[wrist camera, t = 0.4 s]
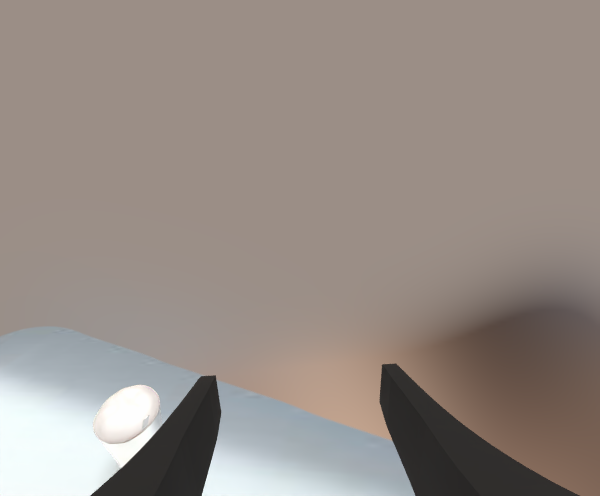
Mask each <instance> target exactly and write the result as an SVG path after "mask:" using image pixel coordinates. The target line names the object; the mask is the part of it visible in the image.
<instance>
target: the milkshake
mask: <svg viewBox="0 0 600 496" xmlns="http://www.w3.org/2000/svg"><path fill="white" fill-rule="evenodd" d="M161 426H162V417H161V408H160V399H159V396H158V394H157V393H156V392H155V391H154V390H153V389H152V388H150V387H148V386H145V385H135V386H130V387H126V388H123V389H121V390H120V391H118V392H117V393H115V394H114V395H112V396H111V397H110V398H108V399H107V400H106V401H105V403H104V404H103V405H102V407H101V408H100V410H99V411H98V413H97V414H96V416H95V418H94V421H93V430H94V433H95V435H96V436H97V437H98V439H99V440H100V441H101V443H102V444H103V445H104V447H105V448H106V449H107V450H108V452H109V453H110V454H111V455H112V456H113V458H114V459H115V461H116V462H117V464H118V465H119V467H120V468H122V467H123V466H124V465H125V464H126V463H127V462H128V461H129V460H130V459H131V458H132V457H133V456H134V455H135V454H136V453H137V452H138V451H139V450H140V449H141V448H142V447H143V446H144V445H145V444H146V443H147V442H148V441H149V439H150V438H151V437H152V436H153V435H154V434H155V433H156V432H157V430H158V429H159V428H160V427H161Z"/></svg>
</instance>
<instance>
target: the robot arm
mask: <svg viewBox="0 0 600 496" xmlns="http://www.w3.org/2000/svg"><path fill="white" fill-rule="evenodd" d="M380 405H381V408H382V411H383V415H384V418H385V422H386V425H387V428H388V430H389V433H390V435H391V437H392V440H393V442H394V445H395V447H396V449H397V452H398V454H399V457H400V459H401V461H402V464H403V466H404V468H405V471H406V473H407V476H408V478H409V480H410V483H411V485H412V488H413V490H414V493H415V496H579V495H577V494H575V493H573V492H571V491H569V490H567V489H565V488H563V487H561V486H559V485H557V484H555V483H553V482H552V481H550V480H548V479H546V478H544V477H543V476H541V475H539V474H537V473H536V472H534V471H532V470H530V469H529V468H527V467H525V466H524V465H522V464H520V463H519V462H517V461H515V460H514V459H512V458H511V457H509V456H508V455H506V454H504V453H503V452H501V451H500V450H498V449H497V448H495V447H494V446H492V445H491V444H489V443H488V442H486V441H485V440H483V439H482V438H481V437H479V436H478V435H477V434H475V433H474V432H472V431H471V430H470V429H468V428H467V427H465V426H464V425H463V424H462V423H460V422H459V421H458V420H456V419H455V418H454V417H453V416H452V415H451V414H449V413H448V412H447V411H446V410H445V409H443V408H442V407H441V406H440V405H439V404H438V403H437V402H436V401H434V400H433V399H432V398H431V397H430V396H429V395H428V394H427V393H425V391H424V390H423V389H421V388H420V387H419V386H418V385H417V384H416V383H415V382H414V381H413V380H412V379H411V378H410V377H409V376H408V375H407V374H406V373H405V372H404V371H403V370H402V369H401V368H400V367H399V366H398V365H397V364H383V365H382V374H381V390H380ZM220 417H221V408H220V402H219V395H218V388H217V382H216V376H201V377H200V378H199V379H198V381H197V382H196V383H195V385H194V386H193V387H192V389H191V390H190V391H189V393H188V394H187V395H186V396H185V398H184V399H183V400H182V402H181V403H180V404H179V405H178V407H177V408H176V409H175V410H174V412H173V413H172V414H171V415H170V417H169V418H168V419H167V420H166V421H165V423H164V424H163V425H162V426H161V427H160V428H159V429H158V430H157V432H156V433H155V434H154V435H153V436H152V437H151V438H150V439H149V441H148V442H147V443H146V444H145V445H144V446H143V447H142V448H141V449H140V450H139V451H138V452H137V453H136V454H135V455H134V456H133V457H132V458H131V459H130V460H129V461H128V462H127V463H126V464H125V465H124V466H123V467H122V468H121V469H120V470H119V471H118V472H117V473H115V474H114V475H113V476H112V477H111V478H110V479H109V480H108V481H107V482H105V483H104V484H103V485H102V486H101V487H100V488H99V489H98V490H96V491H95V492H94V493H93V494H92V495H91V496H202V492H203V488H204V485H205V481H206V478H207V474H208V470H209V467H210V463H211V459H212V456H213V452H214V448H215V444H216V441H217V436H218V430H219V424H220Z"/></svg>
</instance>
